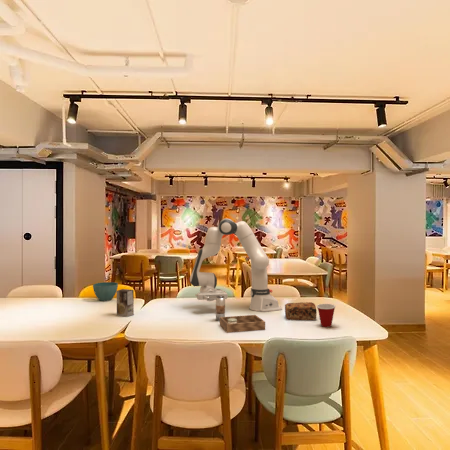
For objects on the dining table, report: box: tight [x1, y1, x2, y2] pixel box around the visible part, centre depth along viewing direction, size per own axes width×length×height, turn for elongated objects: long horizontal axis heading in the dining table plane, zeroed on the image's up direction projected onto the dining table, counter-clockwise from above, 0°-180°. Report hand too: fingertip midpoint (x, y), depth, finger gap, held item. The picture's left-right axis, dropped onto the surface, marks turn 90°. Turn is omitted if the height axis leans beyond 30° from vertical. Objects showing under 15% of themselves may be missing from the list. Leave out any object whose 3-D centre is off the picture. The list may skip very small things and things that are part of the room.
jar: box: [228, 318, 237, 324], centre depth 213 cm, size 5×5×6 cm
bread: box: [284, 301, 318, 321], centre depth 237 cm, size 19×11×10 cm, turn 86°
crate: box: [219, 314, 266, 333], centre depth 217 cm, size 22×16×4 cm
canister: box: [215, 295, 226, 322], centre depth 232 cm, size 6×6×15 cm
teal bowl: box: [92, 281, 119, 302], centre depth 289 cm, size 18×18×12 cm
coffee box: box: [116, 288, 135, 317], centre depth 243 cm, size 9×6×16 cm
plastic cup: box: [316, 303, 336, 328], centre depth 220 cm, size 11×11×12 cm
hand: (214, 298), depth 243 cm, fingers open, 8 cm apart
